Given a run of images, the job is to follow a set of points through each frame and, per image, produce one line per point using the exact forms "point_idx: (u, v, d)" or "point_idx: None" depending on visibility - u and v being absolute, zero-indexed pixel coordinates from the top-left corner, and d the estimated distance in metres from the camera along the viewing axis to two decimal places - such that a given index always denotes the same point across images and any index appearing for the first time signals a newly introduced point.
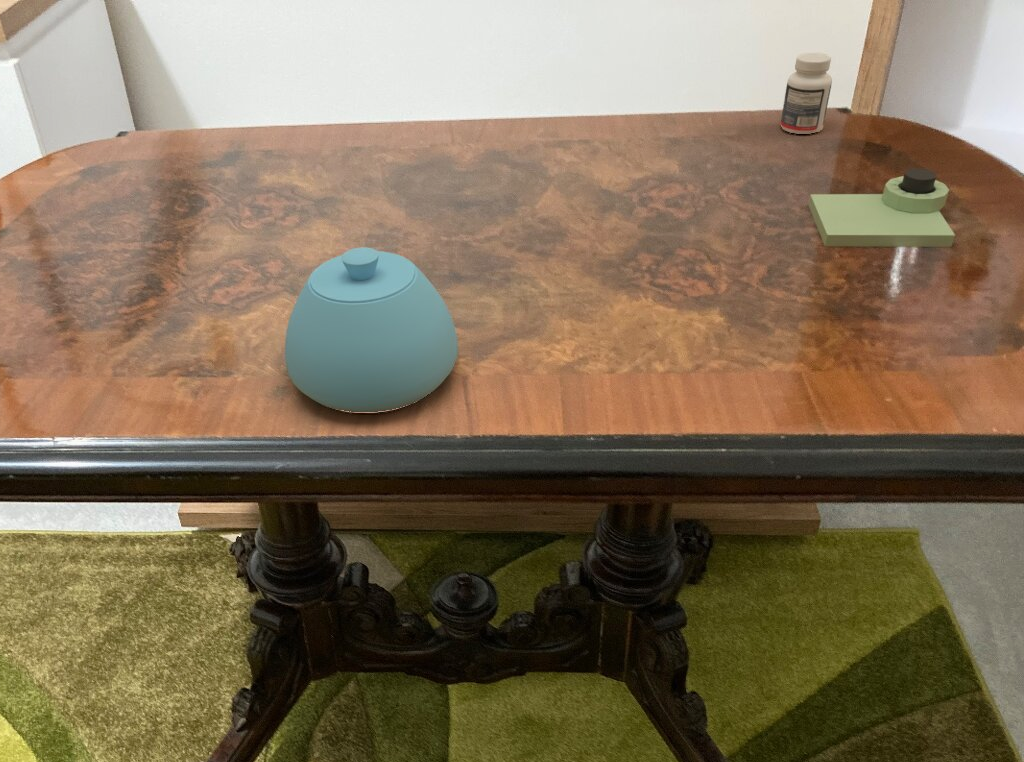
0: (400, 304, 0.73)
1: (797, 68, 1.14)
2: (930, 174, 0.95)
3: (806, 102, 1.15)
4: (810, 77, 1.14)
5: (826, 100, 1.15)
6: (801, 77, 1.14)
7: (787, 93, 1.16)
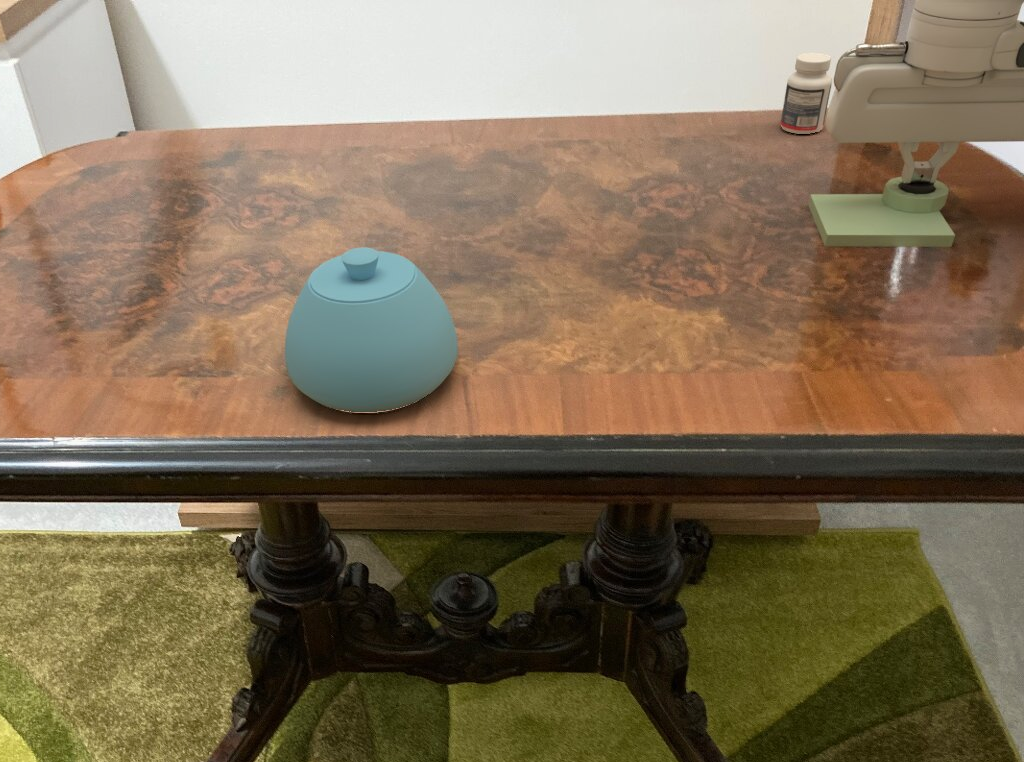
0: (400, 304, 0.73)
1: (797, 68, 1.14)
2: None
3: (806, 102, 1.15)
4: (810, 77, 1.14)
5: (826, 100, 1.15)
6: (801, 77, 1.14)
7: (787, 93, 1.16)
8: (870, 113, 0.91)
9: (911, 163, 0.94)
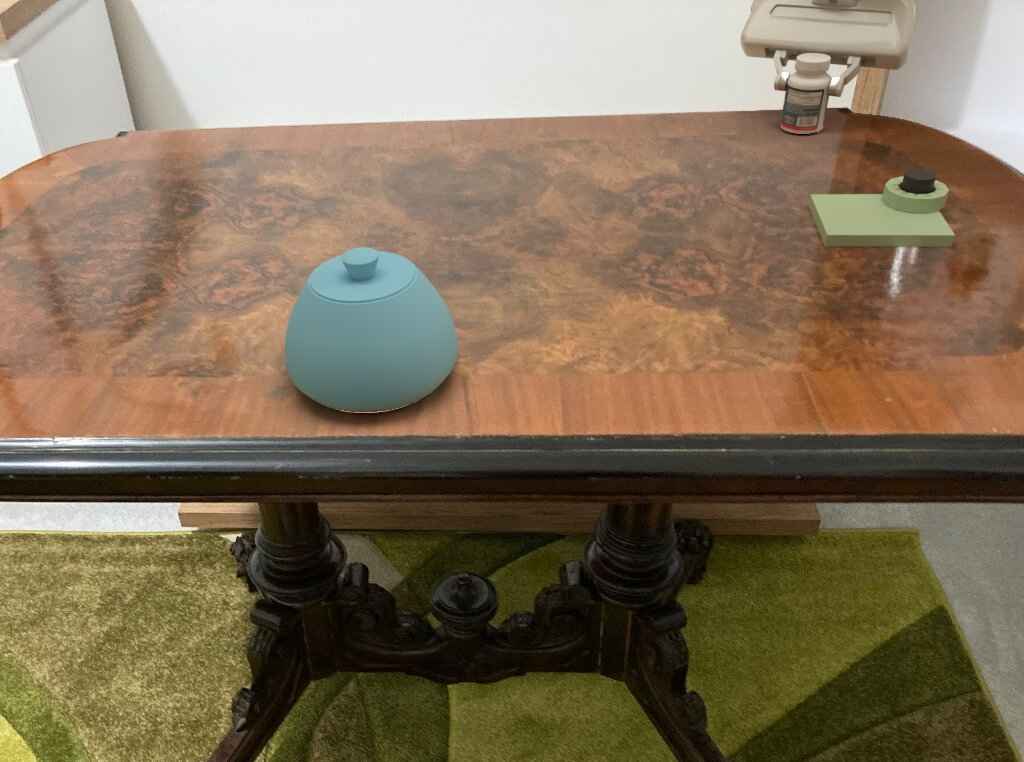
0: (400, 304, 0.73)
1: (797, 68, 1.14)
2: (930, 174, 0.95)
3: (806, 102, 1.15)
4: (810, 77, 1.14)
5: (826, 100, 1.15)
6: (801, 77, 1.14)
7: (787, 93, 1.16)
8: (771, 22, 1.17)
9: (779, 67, 1.17)
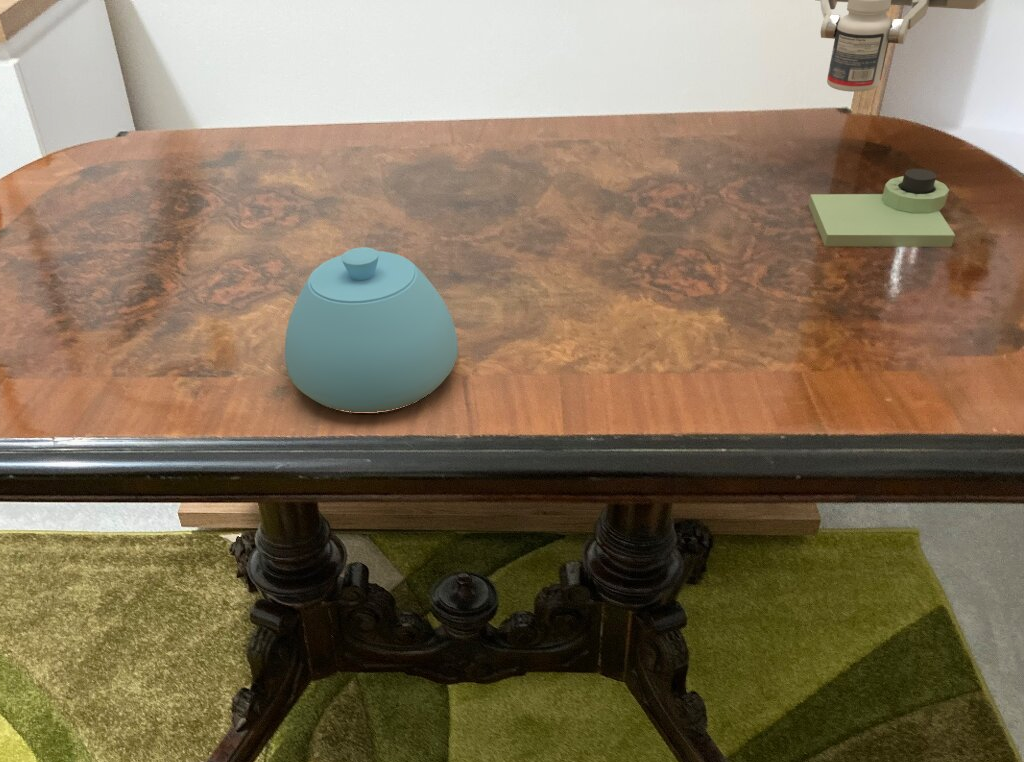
0: (400, 304, 0.73)
1: (850, 8, 0.93)
2: (930, 174, 0.95)
3: (861, 51, 0.94)
4: (867, 19, 0.93)
5: (885, 48, 0.94)
6: (855, 19, 0.93)
7: (837, 40, 0.95)
8: None
9: (827, 9, 0.96)
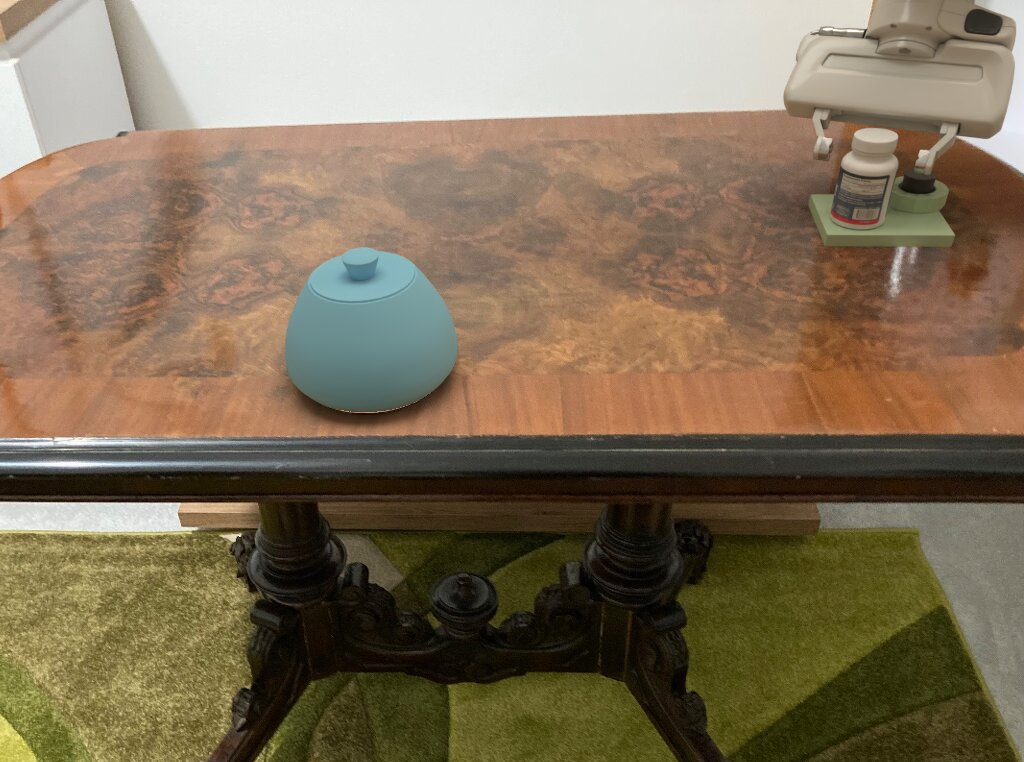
0: (400, 304, 0.73)
1: (855, 148, 0.90)
2: (930, 174, 0.95)
3: (866, 191, 0.90)
4: (872, 160, 0.89)
5: (891, 188, 0.91)
6: (860, 159, 0.90)
7: (841, 178, 0.92)
8: (823, 75, 0.92)
9: (820, 131, 0.92)
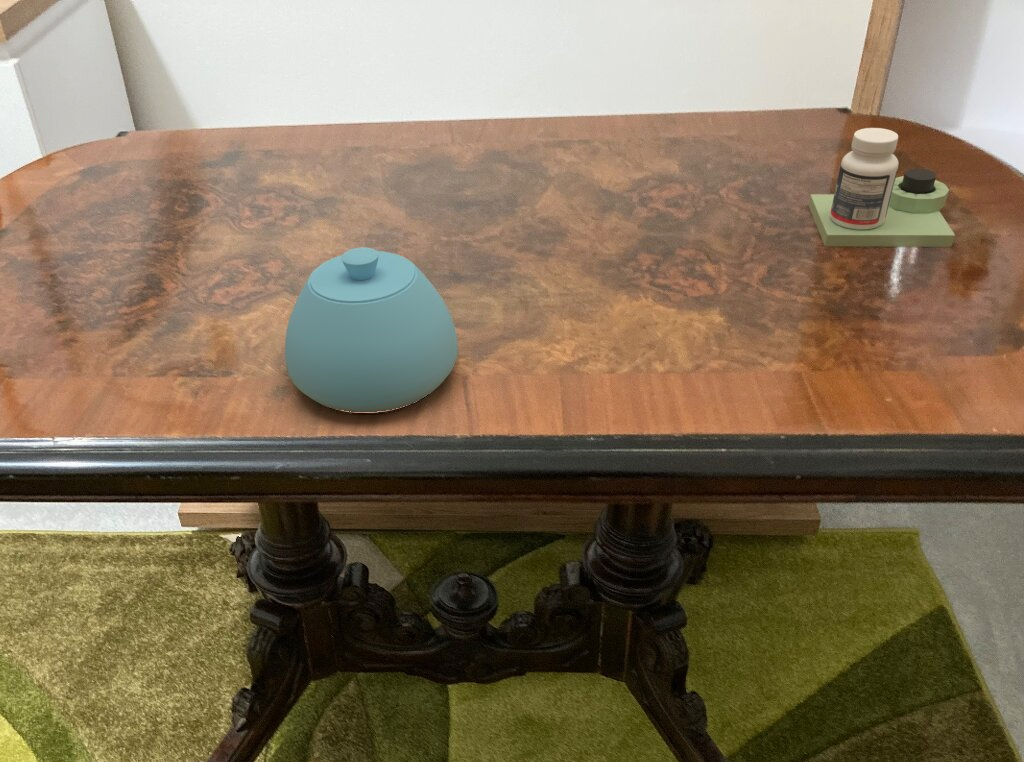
0: (400, 304, 0.73)
1: (855, 148, 0.90)
2: (930, 174, 0.95)
3: (866, 191, 0.90)
4: (872, 160, 0.89)
5: (891, 188, 0.91)
6: (860, 159, 0.90)
7: (841, 178, 0.92)
8: None
9: None
